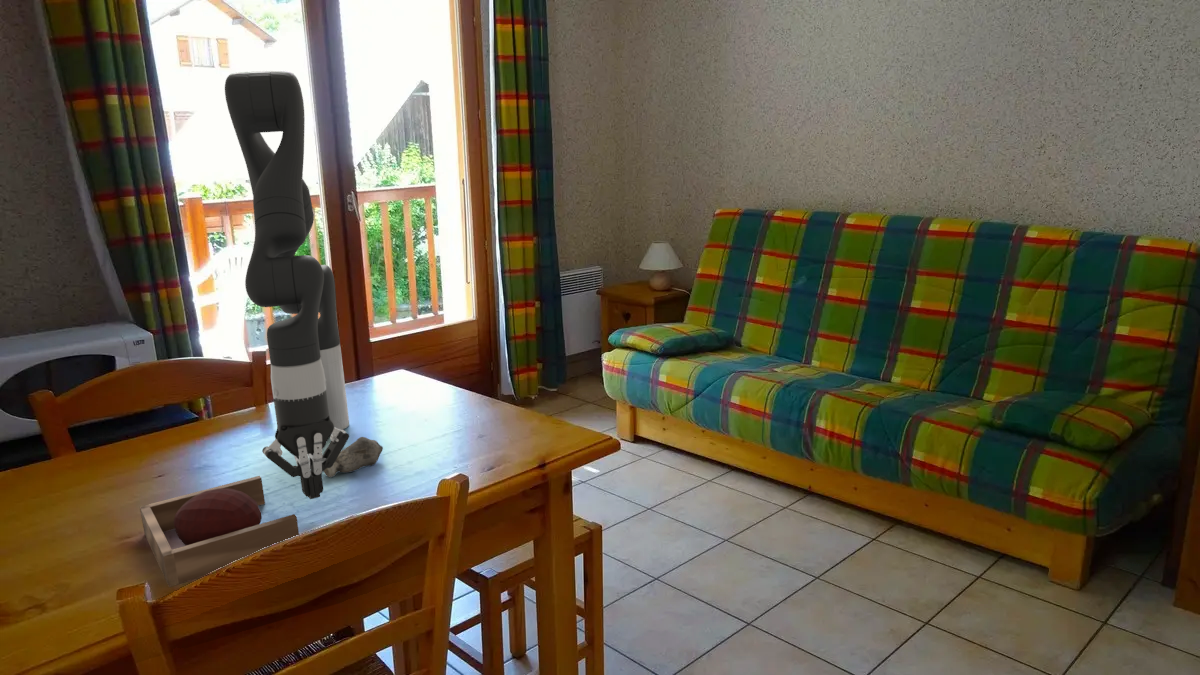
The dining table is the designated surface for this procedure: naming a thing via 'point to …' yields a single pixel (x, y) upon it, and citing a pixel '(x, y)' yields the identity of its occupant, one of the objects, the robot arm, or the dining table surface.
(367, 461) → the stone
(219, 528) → the potato
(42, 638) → the dining table surface
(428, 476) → the dining table surface
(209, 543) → the corral
